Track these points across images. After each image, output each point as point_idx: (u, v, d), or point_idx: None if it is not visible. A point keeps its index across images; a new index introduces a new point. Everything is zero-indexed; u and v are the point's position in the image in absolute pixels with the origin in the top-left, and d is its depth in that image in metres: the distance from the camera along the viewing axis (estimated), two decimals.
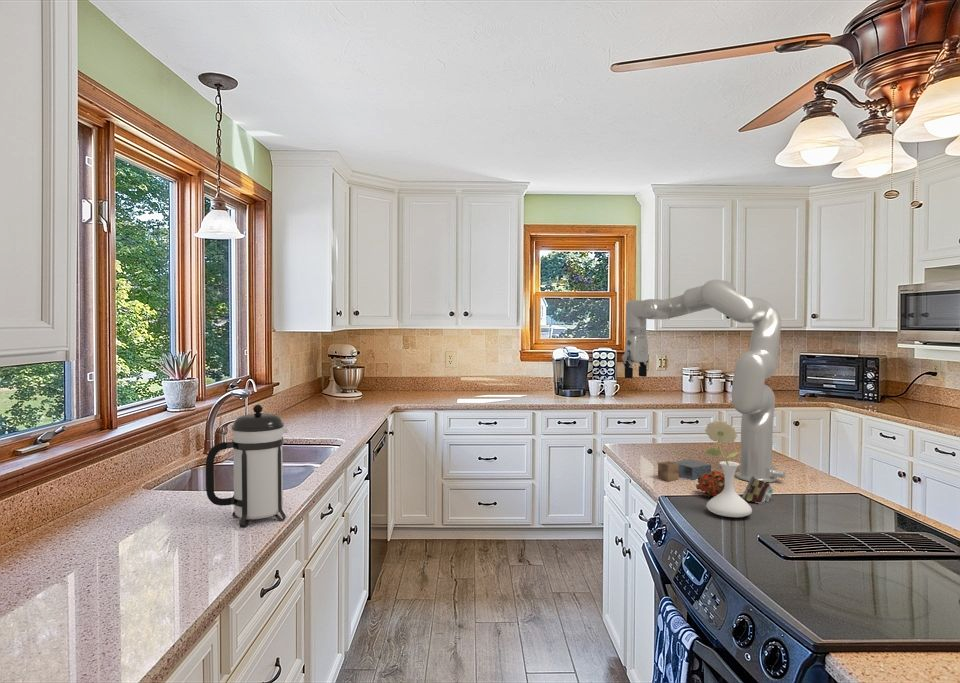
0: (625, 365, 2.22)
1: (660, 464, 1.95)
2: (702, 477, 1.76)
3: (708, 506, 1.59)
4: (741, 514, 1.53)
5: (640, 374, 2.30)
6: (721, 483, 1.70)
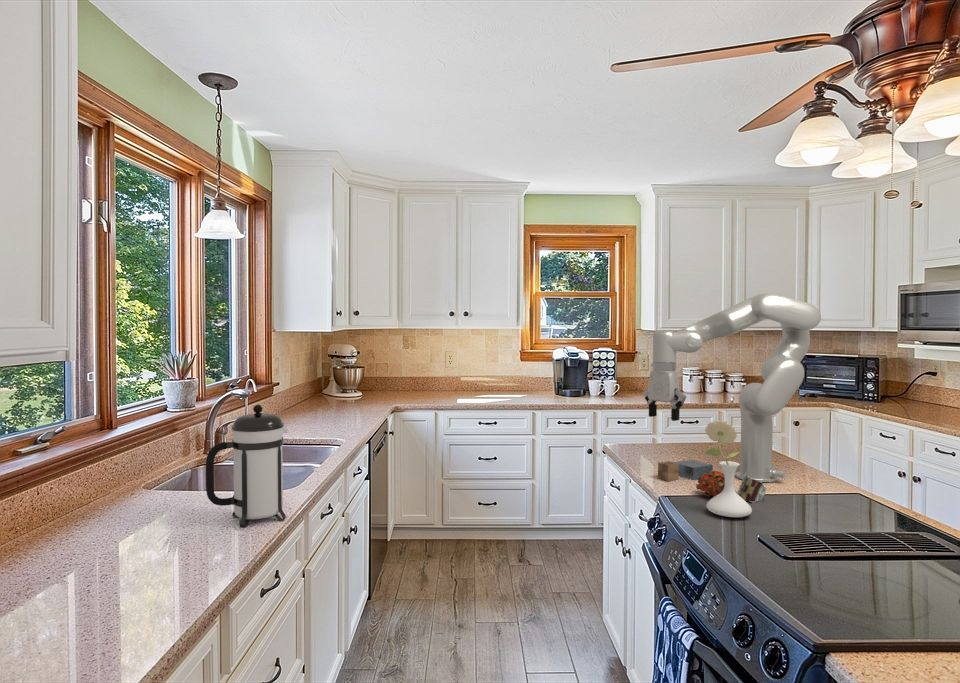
0: None
1: (660, 464, 1.95)
2: (702, 477, 1.76)
3: (708, 506, 1.59)
4: (741, 514, 1.53)
5: None
6: (721, 483, 1.70)
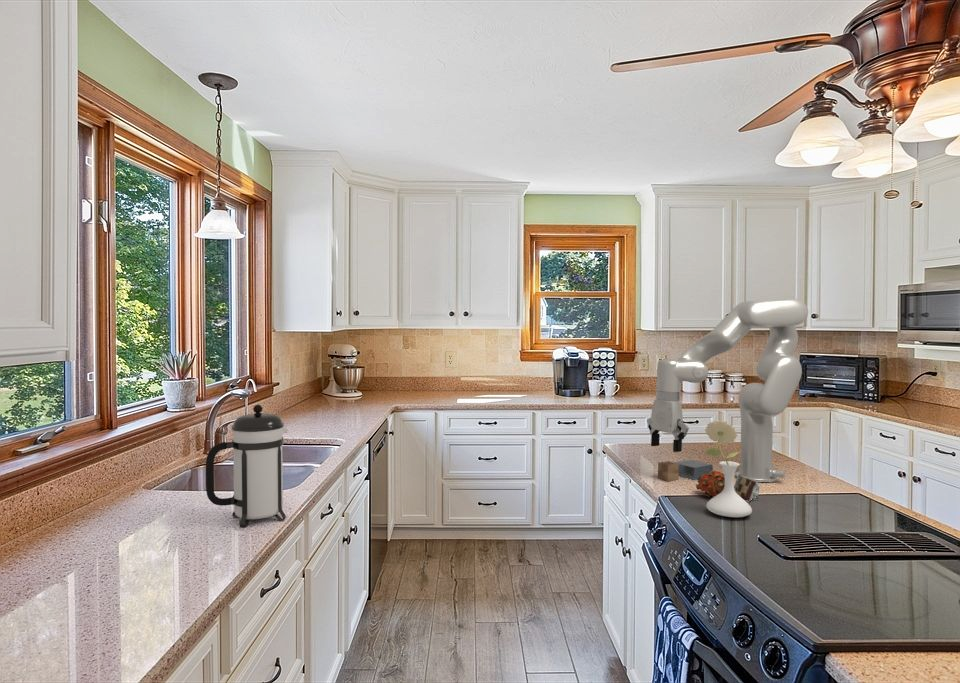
0: None
1: (660, 464, 1.95)
2: (702, 477, 1.76)
3: (708, 506, 1.59)
4: (741, 515, 1.53)
5: None
6: (721, 483, 1.70)
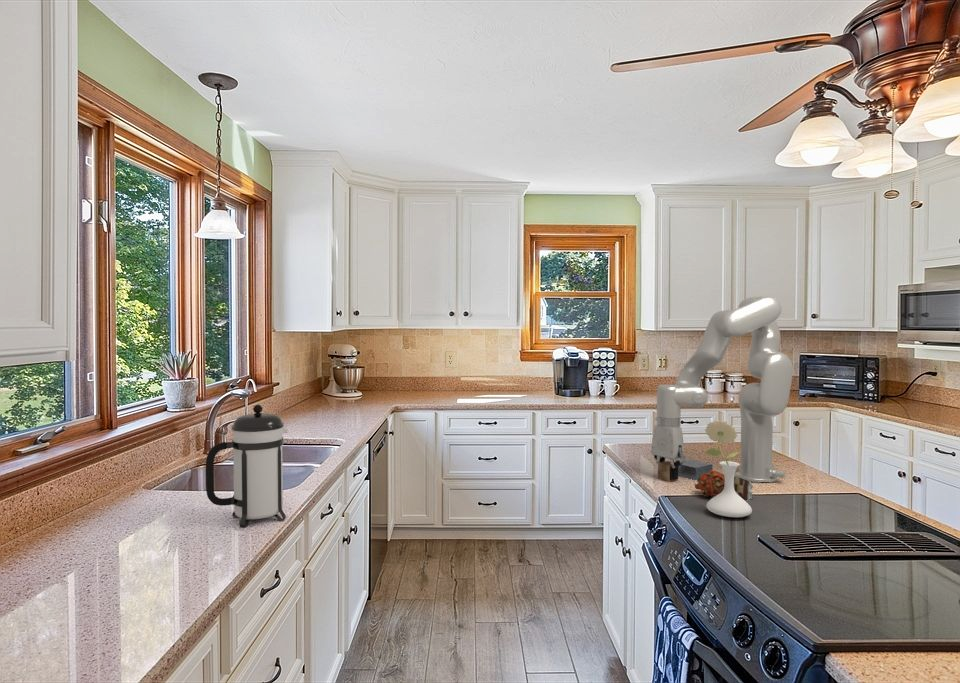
0: None
1: (660, 464, 1.95)
2: (701, 477, 1.76)
3: (708, 506, 1.59)
4: (741, 515, 1.53)
5: None
6: (719, 483, 1.70)
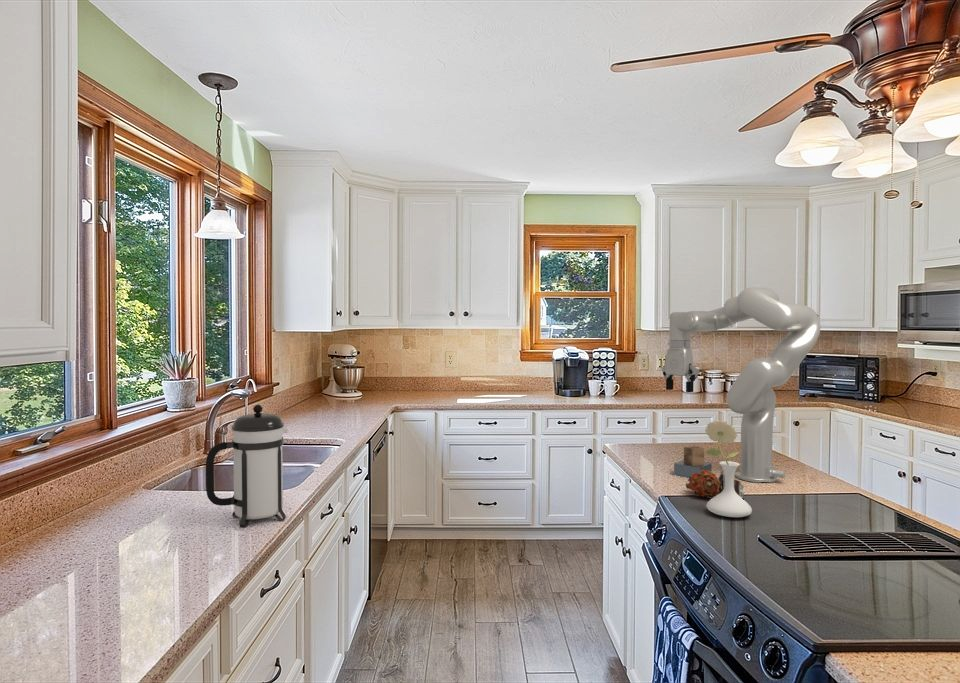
0: None
1: (686, 448, 2.00)
2: (692, 476, 1.76)
3: (708, 506, 1.59)
4: (741, 515, 1.53)
5: None
6: (709, 482, 1.70)
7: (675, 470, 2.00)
